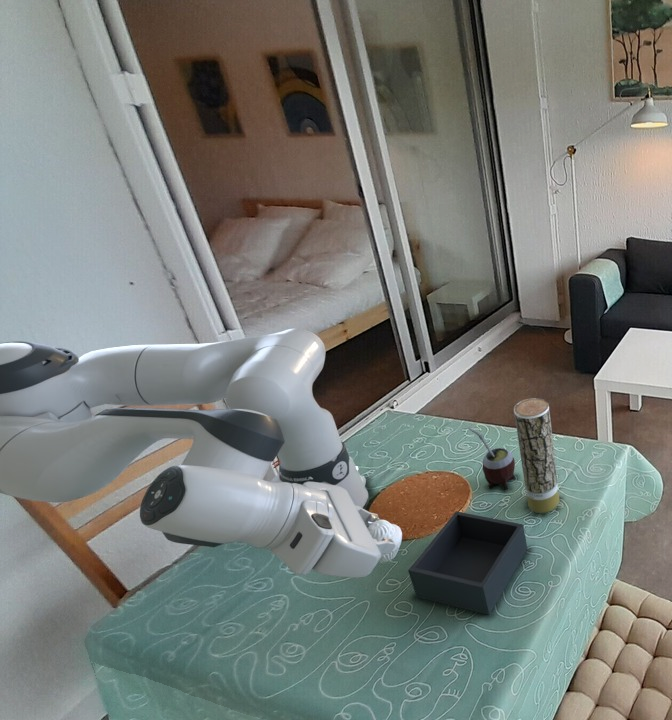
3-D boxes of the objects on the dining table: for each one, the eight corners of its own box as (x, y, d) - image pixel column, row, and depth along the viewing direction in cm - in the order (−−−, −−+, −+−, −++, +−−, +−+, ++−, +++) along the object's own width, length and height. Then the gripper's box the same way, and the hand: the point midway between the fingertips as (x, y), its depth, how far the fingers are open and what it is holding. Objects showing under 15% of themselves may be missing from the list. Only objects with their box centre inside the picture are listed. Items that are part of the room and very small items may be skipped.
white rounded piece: (389, 536, 86) (379, 505, 83) (415, 548, 84) (405, 516, 81) (357, 562, 82) (346, 530, 78) (383, 575, 79) (372, 543, 76)
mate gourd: (521, 484, 115) (513, 430, 109) (488, 498, 111) (477, 443, 105) (509, 468, 121) (501, 415, 114) (477, 480, 117) (466, 427, 110)
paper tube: (553, 517, 106) (541, 418, 95) (523, 512, 107) (507, 414, 96) (563, 495, 112) (553, 399, 101) (535, 491, 113) (522, 396, 102)
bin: (415, 597, 89) (407, 570, 86) (462, 536, 102) (456, 511, 98) (489, 615, 86) (483, 587, 82) (527, 550, 98) (523, 524, 95)
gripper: (270, 500, 78) (355, 516, 88) (297, 582, 64) (394, 590, 74) (294, 464, 78) (375, 485, 88) (326, 539, 65) (418, 552, 75)
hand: (384, 533), depth 81 cm, fingers closed on white rounded piece, 6 cm apart
